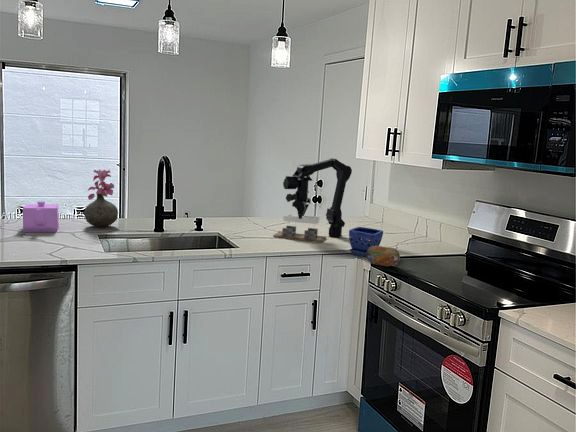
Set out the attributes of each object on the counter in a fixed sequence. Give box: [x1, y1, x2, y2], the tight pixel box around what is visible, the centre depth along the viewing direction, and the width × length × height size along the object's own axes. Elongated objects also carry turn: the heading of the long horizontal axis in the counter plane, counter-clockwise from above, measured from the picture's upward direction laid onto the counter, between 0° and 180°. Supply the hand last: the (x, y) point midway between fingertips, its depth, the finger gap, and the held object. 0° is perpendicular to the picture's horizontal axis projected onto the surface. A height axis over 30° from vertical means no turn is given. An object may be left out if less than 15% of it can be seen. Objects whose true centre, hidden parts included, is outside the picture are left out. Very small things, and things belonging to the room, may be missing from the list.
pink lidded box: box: [22, 200, 60, 233], centre depth 267 cm, size 15×25×14 cm, turn 20°
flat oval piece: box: [365, 245, 401, 268], centre depth 240 cm, size 15×3×8 cm, turn 62°
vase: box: [84, 169, 119, 229], centre depth 281 cm, size 17×17×30 cm
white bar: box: [283, 214, 319, 225], centre depth 285 cm, size 18×4×3 cm, turn 77°
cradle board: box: [272, 225, 327, 243], centre depth 288 cm, size 26×12×5 cm, turn 76°
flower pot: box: [348, 226, 384, 257], centre depth 258 cm, size 13×13×12 cm
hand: (300, 218), depth 285 cm, fingers closed on white bar, 4 cm apart
